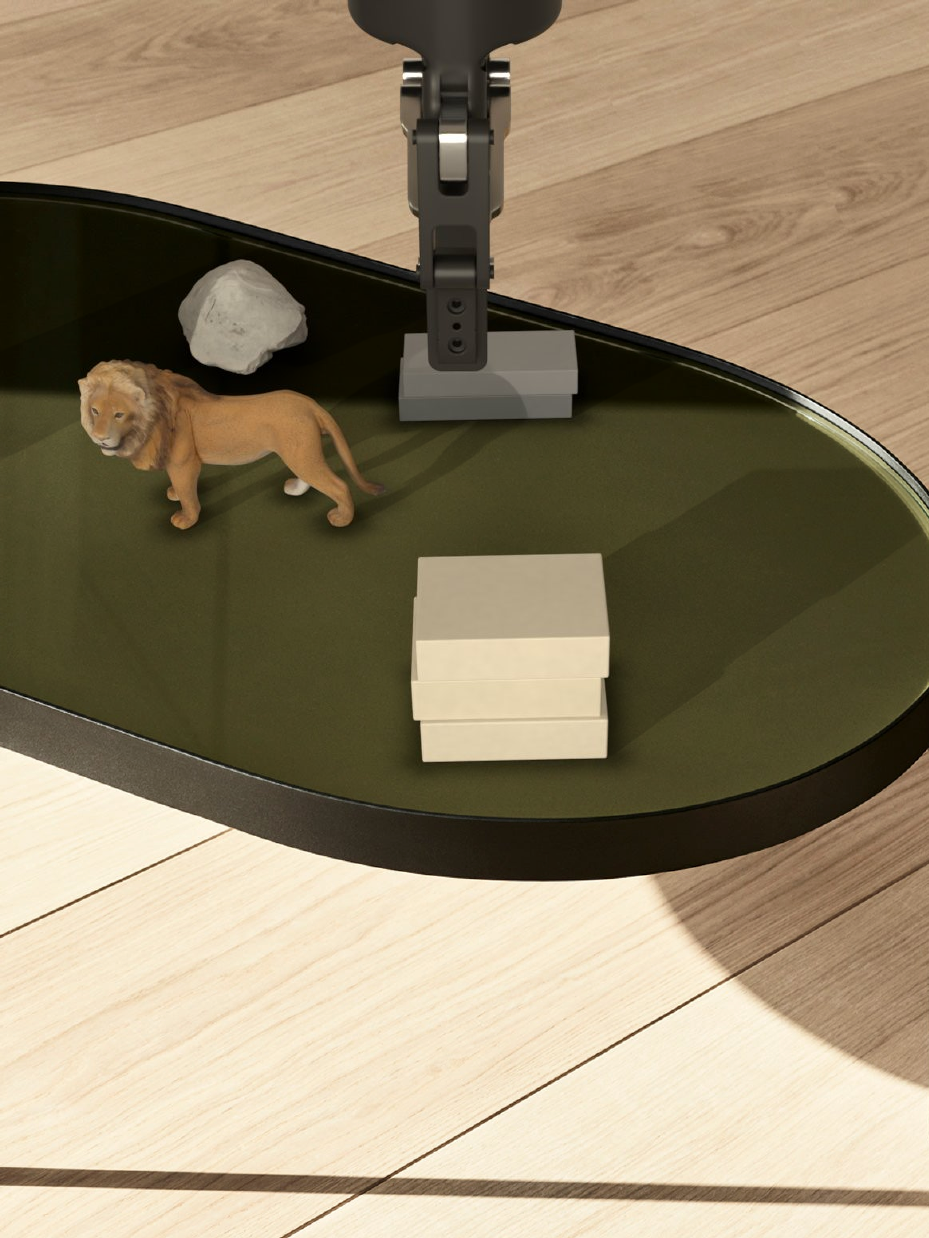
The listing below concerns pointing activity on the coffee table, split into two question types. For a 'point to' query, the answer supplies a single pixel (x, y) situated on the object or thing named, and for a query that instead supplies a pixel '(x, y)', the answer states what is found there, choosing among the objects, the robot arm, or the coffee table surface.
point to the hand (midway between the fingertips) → (459, 311)
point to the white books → (509, 717)
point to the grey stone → (240, 317)
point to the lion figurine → (212, 433)
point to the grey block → (493, 379)
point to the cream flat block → (511, 617)
